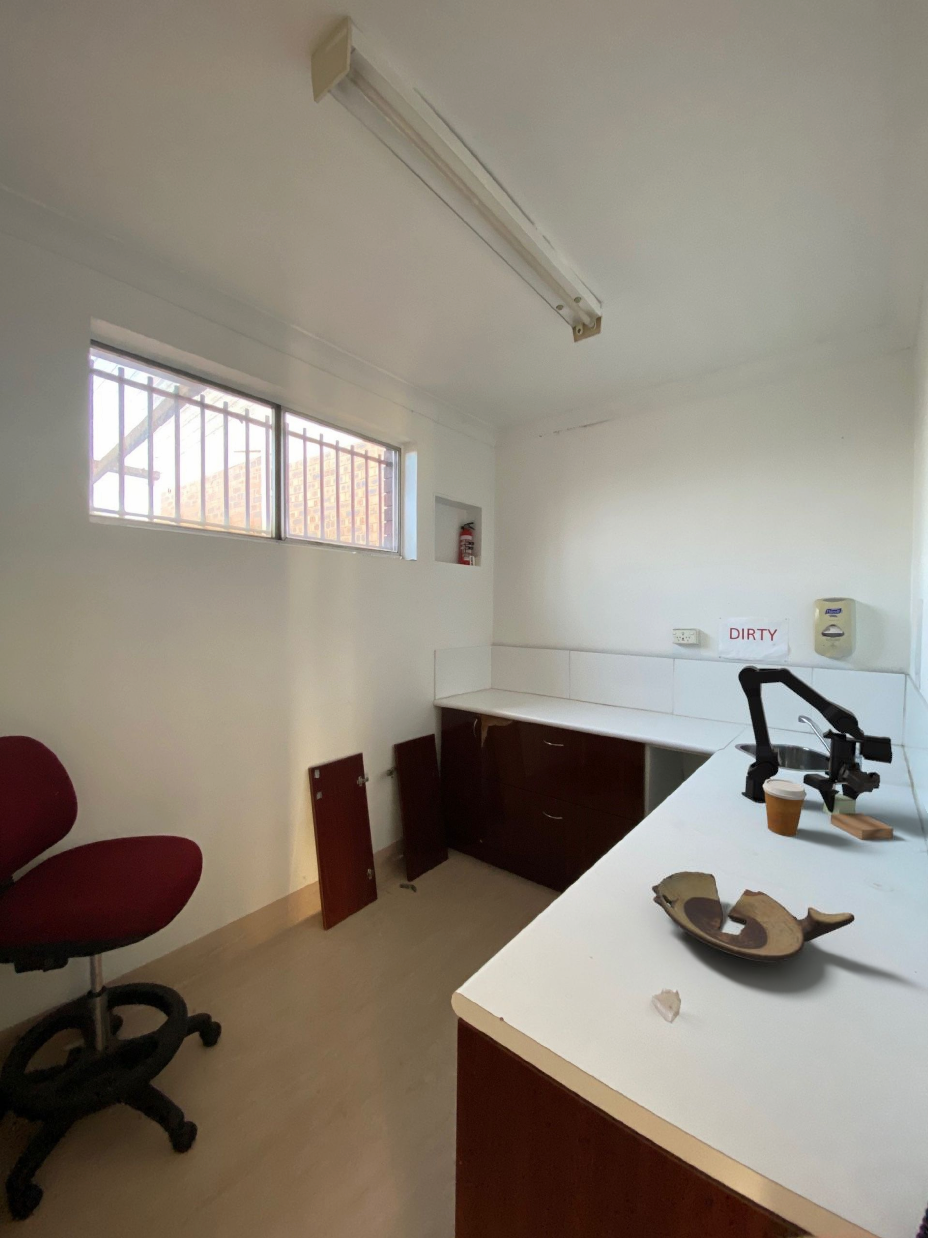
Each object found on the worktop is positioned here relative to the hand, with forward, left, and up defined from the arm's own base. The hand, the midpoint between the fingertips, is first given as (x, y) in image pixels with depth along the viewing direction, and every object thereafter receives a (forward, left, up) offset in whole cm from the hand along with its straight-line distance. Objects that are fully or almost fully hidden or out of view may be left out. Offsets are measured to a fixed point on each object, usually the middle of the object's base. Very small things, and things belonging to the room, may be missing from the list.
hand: (839, 811), depth 140 cm
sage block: (0, 0, -1) cm, 1 cm away
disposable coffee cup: (-23, -7, -1) cm, 25 cm away
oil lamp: (-62, -44, -1) cm, 76 cm away
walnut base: (-2, -9, -1) cm, 9 cm away
